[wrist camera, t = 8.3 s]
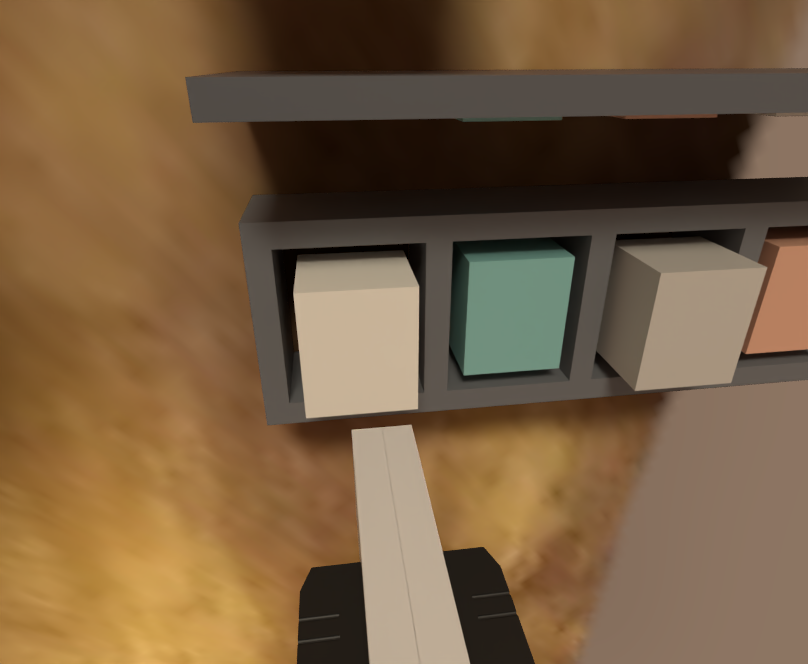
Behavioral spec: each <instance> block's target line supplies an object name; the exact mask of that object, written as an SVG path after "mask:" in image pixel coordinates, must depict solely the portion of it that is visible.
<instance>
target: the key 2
mask: <svg viewBox="0 0 808 664" xmlns="http://www.w3.org/2000/svg"><path fill="white" fill-rule="evenodd" d="M574 261H575V257H574V256H573V255H572V254H570V253H569V252H568V251H566V250H565V249H564V248H563V247H561V246H560V245H559V244H557V243H556V242H555V241H553V240H552V239H551V238H549V237H542V238H520V239H498V240H475V241H453V252H452V277H451V303H450V329H449V345H450V347H451V349H452V351H453V354H454V356H455V358H456V360H457V362H458V364H459V367H460V369H461V371H462V373H463V375H476V374H489V373H502V372H515V371H529V370H542V369H555V368H559V364H560V357H561V350H562V344H563V337H564V330H565V323H566V316H567V309H568V302H569V295H570V289H571V282H572V275H573V268H574Z"/></svg>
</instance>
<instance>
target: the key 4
mask: <svg viewBox="0 0 808 664" xmlns="http://www.w3.org/2000/svg"><path fill="white" fill-rule="evenodd" d="M758 263H759V264H761V265H763V266H766V267H767V270H766V274H765V277H764V280H763V283H762V286H761V289H760V293H759V296H758V299H757V302H756V305H755V309H754V312H753V315H752V318H751V321H750V324H749V328H748V331H747V334H746V337H745V340H744V343H743V347H742V350H741V351H742V352H743V353H745V354H753V353H766V352H779V351H792V350H805V349H808V226H786V227H769V228H768V231H767V234H766V237H765V241H764V244H763V247H762V250H761V254H760V257H759V260H758Z"/></svg>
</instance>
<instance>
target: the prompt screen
mask: <svg viewBox="0 0 808 664" xmlns="http://www.w3.org/2000/svg"><path fill="white" fill-rule="evenodd" d="M185 78H186V84H187V90H188V96H189V102H190V108H191V114H192V120H193V123H202V122H262V121H323V120H384V119H445V118H455V119H457V120H460V121H462V122H481V121H539V120H562V117H567V116H612V117H617V118H622V119H655V118H713V117H717V115H718V114H749V113H751V114H760V115H768V116H808V68H788V69H598V70H407V71H236V72H227V73H218V74H209V75H201V76H192V77H185Z"/></svg>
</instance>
